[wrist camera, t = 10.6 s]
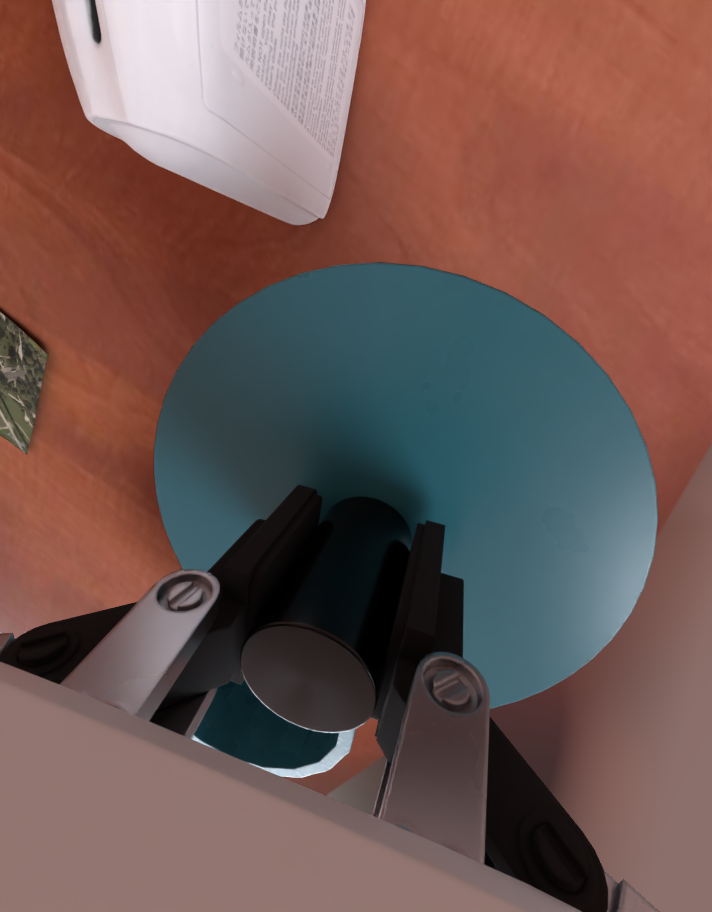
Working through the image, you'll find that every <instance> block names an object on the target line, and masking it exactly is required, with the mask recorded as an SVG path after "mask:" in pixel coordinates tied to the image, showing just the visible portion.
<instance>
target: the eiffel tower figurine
mask: <svg viewBox="0 0 712 912" xmlns="http://www.w3.org/2000/svg"><path fill="white" fill-rule="evenodd" d="M47 357H48V354H47V353H46V352H45V351H44V350H42V349H41V348H40V347H39V346H38V345H37V344H36V343H35V342H34V341H33V340H32V339H31V338H30V337H29V336H28V335H26V334H25V333H24V332H23V331H22V330H21V329H20V328H19V327H18V326H16V325H15V324H14V323H13V322H12V321H11V320H9V319H8V318H7V317H6V316H5V315H4V314H2V313H1V312H0V435H1V436H2V437H4V438H5V439H6V440H8V441H9V442H11V443H12V444H13V445H15V446H16V447H17V448H19V449H20V450H21V451H23V452H24V453H25V454H27V452H28V448H29V443H30V439H31V435H32V430H33V425H34V421H35V416H36V411H37V406H38V401H39V396H40V391H41V386H42V380H43V375H44V370H45V365H46V361H47Z"/></svg>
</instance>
